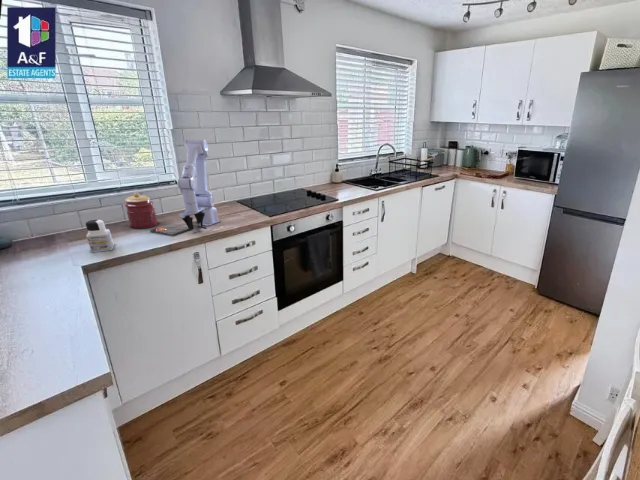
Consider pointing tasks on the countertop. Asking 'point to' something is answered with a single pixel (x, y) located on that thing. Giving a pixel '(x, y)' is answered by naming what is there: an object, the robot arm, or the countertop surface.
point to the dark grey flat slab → (170, 230)
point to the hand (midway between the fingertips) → (195, 228)
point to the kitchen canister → (140, 211)
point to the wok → (197, 226)
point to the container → (98, 236)
